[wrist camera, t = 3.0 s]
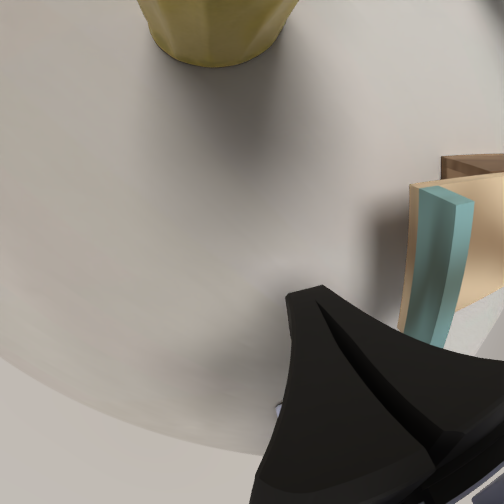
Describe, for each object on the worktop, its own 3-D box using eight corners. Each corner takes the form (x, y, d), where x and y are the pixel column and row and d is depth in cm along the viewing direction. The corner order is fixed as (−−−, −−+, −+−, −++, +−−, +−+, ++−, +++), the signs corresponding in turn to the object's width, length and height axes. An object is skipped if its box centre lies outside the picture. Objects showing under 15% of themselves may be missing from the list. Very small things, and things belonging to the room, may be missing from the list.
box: (503, 235, 17) (536, 256, 14) (434, 260, 17) (472, 290, 13) (511, 153, 14) (549, 166, 11) (441, 156, 14) (490, 171, 10)
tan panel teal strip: (502, 279, 13) (528, 300, 11) (397, 327, 13) (424, 362, 10) (520, 170, 10) (554, 184, 8) (409, 184, 9) (456, 205, 7)
